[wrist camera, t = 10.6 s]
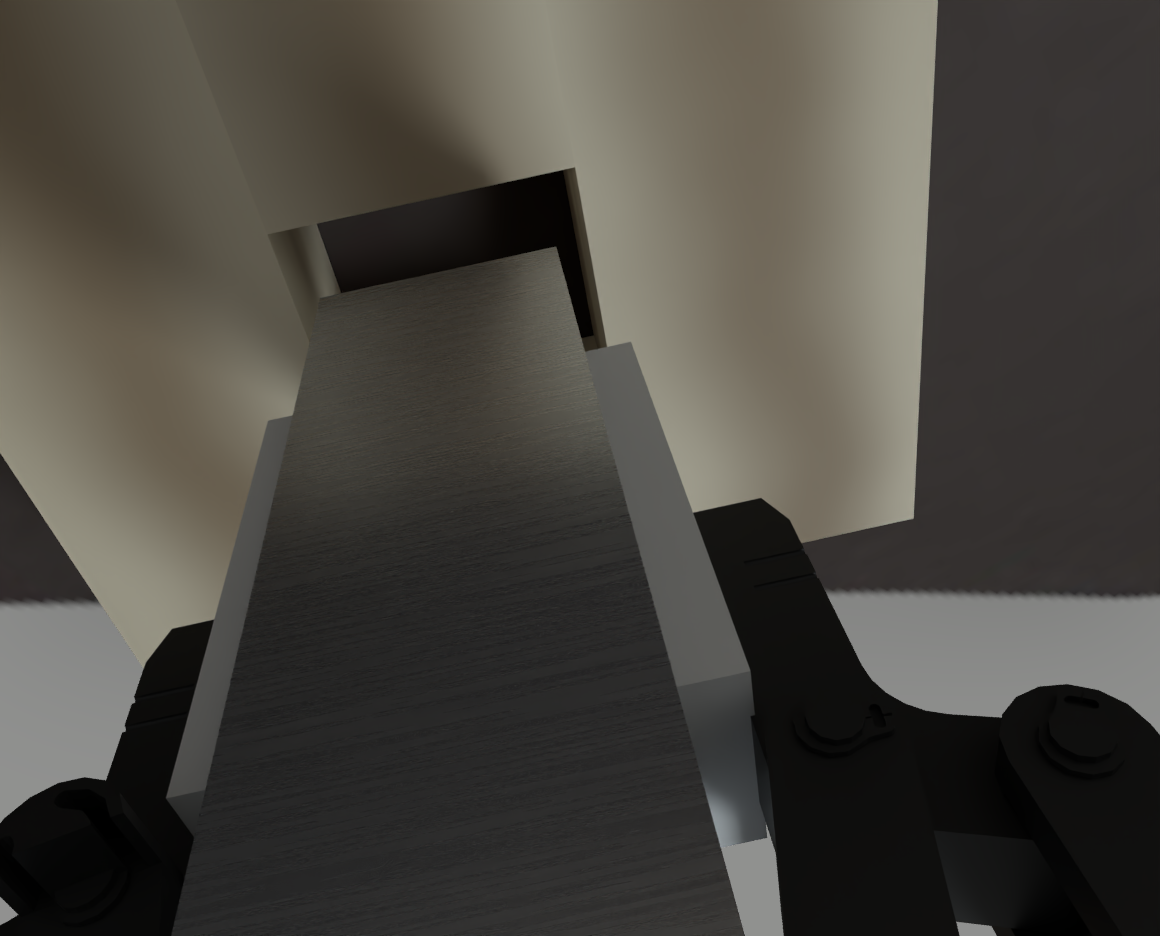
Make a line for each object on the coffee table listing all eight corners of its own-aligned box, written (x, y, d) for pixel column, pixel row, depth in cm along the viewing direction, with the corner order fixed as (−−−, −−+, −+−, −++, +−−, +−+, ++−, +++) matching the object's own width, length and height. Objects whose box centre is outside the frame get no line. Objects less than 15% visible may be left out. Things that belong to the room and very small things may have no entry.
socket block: (190, 571, 25) (154, 685, 22) (-135, 0, 17) (-269, 48, 14) (851, 425, 25) (913, 518, 22) (848, -213, 17) (947, -217, 14)
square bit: (389, 486, 18) (312, 1660, 7) (319, 297, 16) (12, 1615, 4) (595, 441, 18) (870, 1541, 7) (555, 246, 16) (878, 1424, 4)
